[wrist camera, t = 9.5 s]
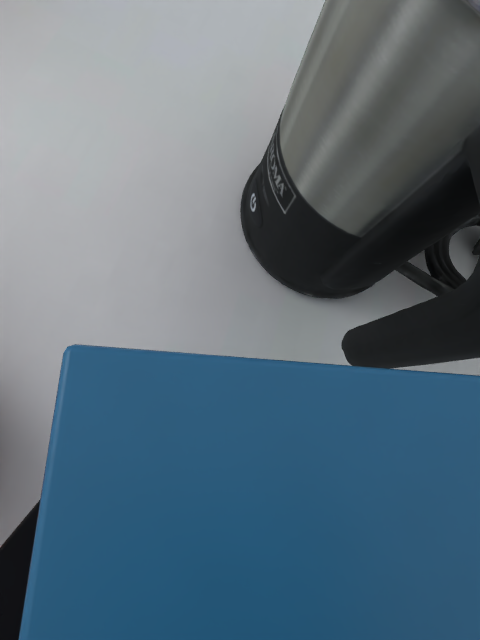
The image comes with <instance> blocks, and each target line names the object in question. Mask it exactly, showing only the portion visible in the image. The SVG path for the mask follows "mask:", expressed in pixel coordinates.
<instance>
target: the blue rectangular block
mask: <svg viewBox="0 0 480 640" xmlns="http://www.w3.org/2000/svg"><path fill="white" fill-rule="evenodd" d="M19 640H480V376H476V375H463V374H450V373H437V372H424V371H411V370H398V369H386V368H373V367H360V366H347V365H334V364H321V363H308V362H295V361H283V360H270V359H257V358H244V357H231V356H218V355H205V354H192V353H180V352H167V351H154V350H141V349H128V348H115V347H102V346H89V345H77V344H75V345H72V346H68V347H67V348H66V350H65V351H64V353H63V359H62V365H61V371H60V378H59V384H58V391H57V397H56V403H55V410H54V416H53V423H52V429H51V435H50V442H49V448H48V455H47V461H46V467H45V474H44V480H43V487H42V493H41V499H40V506H39V512H38V519H37V525H36V531H35V538H34V544H33V550H32V557H31V563H30V570H29V576H28V582H27V589H26V595H25V602H24V608H23V614H22V621H21V627H20V634H19Z"/></svg>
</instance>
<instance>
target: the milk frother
mask: <svg viewBox="0 0 480 640" xmlns="http://www.w3.org/2000/svg"><path fill="white" fill-rule="evenodd" d="M241 222H242V228H243V232H244V235H245V238H246V241H247V243H248V245H249V247H250V249H251V251H252V252H253V254H254V256H255V257H256V259H257V260H258V261H259V263H260V264H261V265H262V266H263V267H264V268H265V270H266V271H267V272H268V273H269V274H270V275H271V276H273V277H274V278H275V279H277V280H278V281H280V282H281V283H282V284H284V285H286V286H287V287H289V288H291V289H293V290H295V291H297V292H300V293H303V294H306V295H310V296H313V297H319V298H344V297H348V296H352V295H355V294H358V293H360V292H362V291H364V290H366V289H368V288H369V287H371V286H372V285H374V284H375V283H376V282H378V281H379V280H381V279H382V278H384V277H385V276H386V275H388V274H390V273H391V272H393V271H394V270H396V271H398V272H399V273H401V274H402V275H404V276H406V277H407V278H408V279H410V280H412V281H413V282H415V283H416V284H418V285H420V286H421V287H423V288H425V289H426V290H428V291H430V292H432V293H433V294H435V295H436V296H438V297H435V298H433V299H430V300H428V301H426V302H423V303H420V304H417V305H415V306H412V307H409V308H407V309H403V310H401V311H398V312H396V313H394V314H391V315H388V316H385V317H383V318H380V319H378V320H375V321H372V322H369V323H367V324H364V325H361V326H358V327H356V328H354V329H351V330H349V331H348V332H347V333H346V334H345V336H344V338H343V340H342V349H343V351H344V354H345V357H346V359H347V361H348V362H349V363H350V364H351V365H352V366H360V367H373V368H386V369H390V368H399V367H407V366H416V365H426V364H434V363H442V362H449V361H457V360H464V359H472V358H479V357H480V239H479V240H478V242H477V243H476V244H475V246H474V250H473V251H472V253H473V255H479V259H478V263H477V265H476V267H475V269H474V272H473V273H472V275H471V276H470V277H469V278H468V280H466V279H465V278H464V277H463V276H462V275H461V274H460V273H459V272H458V271H457V270H456V269H455V267H454V266H453V264H452V262H451V259H450V256H449V242H450V239H451V237H452V235H454V234H455V233H456V232H457V231H459V230H461V229H463V228H466V227H469V226H475V225H477V226H480V0H325V3H324V5H323V8H322V10H321V13H320V15H319V18H318V20H317V23H316V25H315V28H314V30H313V33H312V36H311V38H310V41H309V43H308V46H307V48H306V51H305V53H304V56H303V58H302V61H301V63H300V66H299V69H298V71H297V74H296V76H295V79H294V81H293V84H292V87H291V90H290V92H289V95H288V98H287V101H286V104H285V106H284V108H283V110H282V113H281V115H280V118H279V121H278V123H277V126H276V128H275V131H274V133H273V136H272V138H271V141H270V143H269V145H268V147H267V150H266V152H265V154H264V156H263V159H262V161H261V163H260V164H259V165H258V166H257V167H256V169H255V170H254V171H253V173H252V174H251V176H250V177H249V179H248V181H247V183H246V185H245V188H244V191H243V195H242V200H241ZM423 250H424V252H425V258H426V264H427V267H428V270H429V272H430V274H431V276H430V275H429V274H427V273H425V272H424V271H422V270H421V269H419V268H417V267H416V266H414V265H412V264H411V263H409V262H408V260H410V259H411V258H412V257H414V256H416V255H417V254H419V253H421V252H422V251H423Z"/></svg>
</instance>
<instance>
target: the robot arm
mask: <svg viewBox="0 0 480 640" xmlns="http://www.w3.org/2000/svg"><path fill="white" fill-rule="evenodd" d="M39 506H40V500H39V502H38V503H37V504H36V505H35V506H34V508H33V509H32V510H31V511H30V512H29V514H28V515H27V516H26V517H25V518H24V520H23V521H22V522H21V523H20V524H19V526H18V527H17V528H16V529H15V530H14V532H13V533H12V534H11V535H10V537H9V538H8V539H7V540H6V541H5V543H4V544H3V545H2V546H1V547H0V640H19V634H20V627H21V621H22V614H23V608H24V602H25V595H26V589H27V582H28V576H29V570H30V563H31V557H32V550H33V544H34V538H35V531H36V525H37V519H38V512H39Z"/></svg>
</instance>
